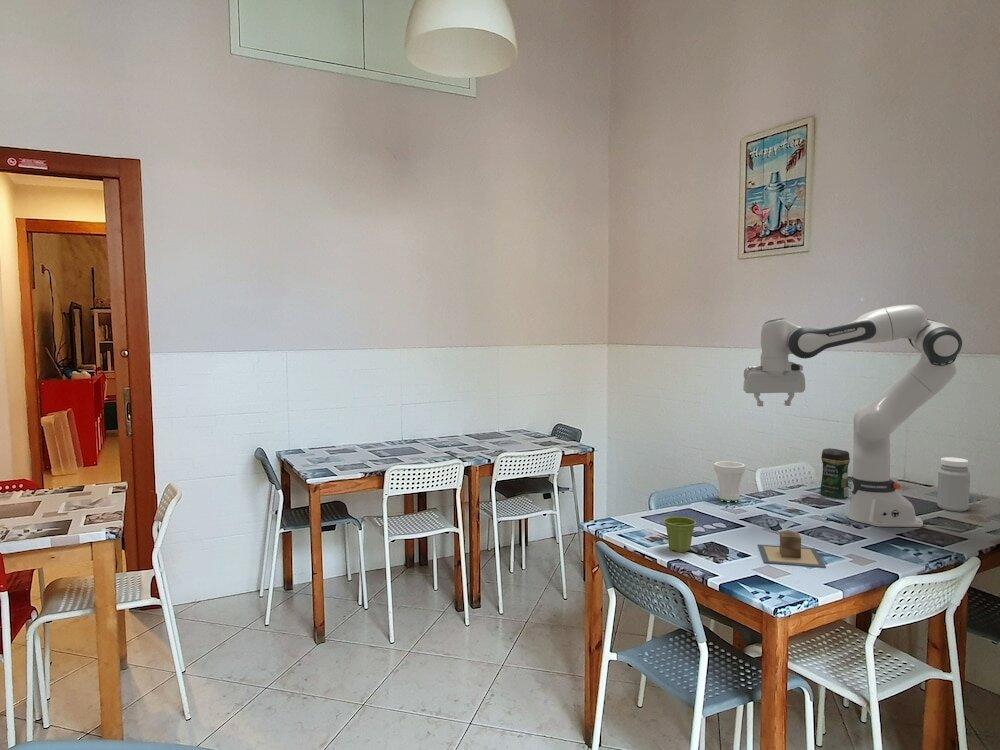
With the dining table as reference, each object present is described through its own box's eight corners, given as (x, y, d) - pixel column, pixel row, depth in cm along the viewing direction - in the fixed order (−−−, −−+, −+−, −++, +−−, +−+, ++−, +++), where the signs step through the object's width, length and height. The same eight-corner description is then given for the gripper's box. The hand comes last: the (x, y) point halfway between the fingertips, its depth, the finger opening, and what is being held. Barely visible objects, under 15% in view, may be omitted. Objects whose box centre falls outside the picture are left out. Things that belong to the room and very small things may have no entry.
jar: (973, 513, 235) (975, 462, 234) (940, 511, 239) (942, 461, 237) (964, 506, 244) (966, 457, 243) (933, 504, 248) (935, 456, 246)
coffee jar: (816, 495, 263) (817, 448, 262) (829, 492, 267) (830, 446, 266) (840, 500, 255) (841, 452, 253) (852, 497, 259) (853, 450, 257)
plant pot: (660, 544, 206) (660, 516, 205) (691, 544, 206) (691, 516, 205) (667, 554, 197) (667, 525, 196) (699, 554, 196) (699, 525, 196)
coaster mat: (814, 549, 199) (814, 548, 199) (825, 567, 184) (825, 566, 184) (757, 545, 204) (757, 544, 204) (763, 563, 188) (763, 562, 188)
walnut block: (797, 552, 196) (798, 532, 195) (800, 558, 191) (801, 537, 190) (779, 551, 197) (779, 531, 197) (782, 557, 192) (782, 536, 192)
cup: (749, 504, 251) (750, 466, 250) (720, 505, 250) (721, 467, 249) (736, 496, 262) (737, 460, 261) (709, 497, 261) (709, 461, 260)
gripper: (747, 367, 227) (746, 407, 228) (807, 365, 227) (807, 406, 228) (740, 366, 233) (740, 405, 234) (799, 365, 233) (799, 404, 234)
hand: (773, 405), depth 231 cm, fingers open, 8 cm apart
